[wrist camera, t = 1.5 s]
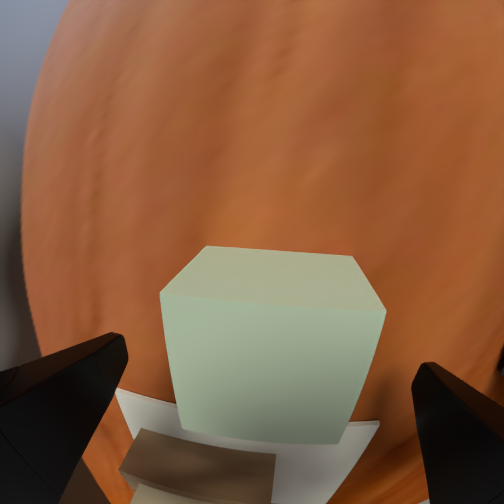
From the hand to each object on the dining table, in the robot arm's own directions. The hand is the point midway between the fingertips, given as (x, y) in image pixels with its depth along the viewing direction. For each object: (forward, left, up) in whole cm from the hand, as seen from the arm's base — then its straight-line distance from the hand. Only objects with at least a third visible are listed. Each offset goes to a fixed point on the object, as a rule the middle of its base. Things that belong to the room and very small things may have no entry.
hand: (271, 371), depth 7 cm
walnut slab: (+3, +13, -3) cm, 14 cm away
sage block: (0, 0, -3) cm, 3 cm away
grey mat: (+1, +12, -3) cm, 12 cm away
